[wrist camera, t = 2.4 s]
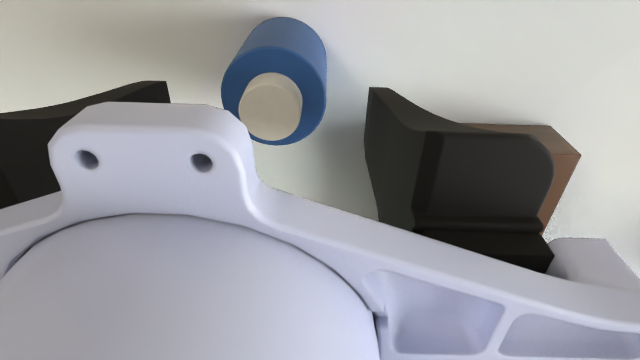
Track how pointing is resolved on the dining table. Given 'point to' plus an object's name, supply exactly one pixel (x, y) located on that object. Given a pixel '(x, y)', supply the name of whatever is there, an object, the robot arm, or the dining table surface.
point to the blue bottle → (278, 82)
